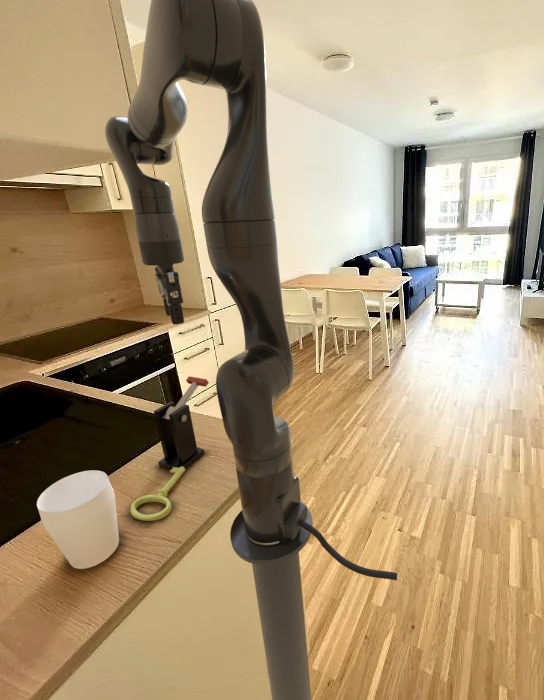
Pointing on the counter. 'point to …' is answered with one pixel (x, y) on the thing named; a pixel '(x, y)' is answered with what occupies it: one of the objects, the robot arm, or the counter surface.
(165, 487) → the key
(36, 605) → the counter surface
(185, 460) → the bracket
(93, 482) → the cup
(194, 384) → the lever
